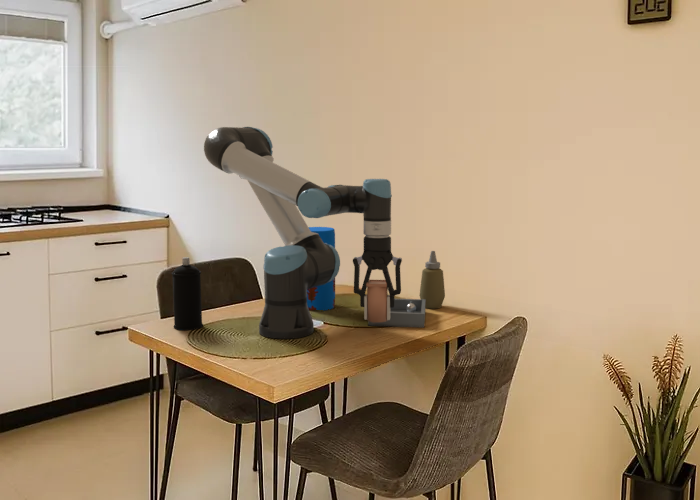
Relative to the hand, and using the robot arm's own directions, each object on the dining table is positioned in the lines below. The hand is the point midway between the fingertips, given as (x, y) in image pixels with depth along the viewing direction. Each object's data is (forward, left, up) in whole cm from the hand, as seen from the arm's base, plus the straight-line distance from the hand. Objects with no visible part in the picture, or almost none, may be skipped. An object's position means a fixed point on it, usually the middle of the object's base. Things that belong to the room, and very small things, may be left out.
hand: (377, 318), depth 200 cm
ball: (+9, +20, -2) cm, 22 cm away
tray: (+5, +15, -4) cm, 16 cm away
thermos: (-21, +27, -4) cm, 35 cm away
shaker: (0, 0, 0) cm, 0 cm away
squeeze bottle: (+15, +31, -4) cm, 35 cm away
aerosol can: (-54, -1, -4) cm, 54 cm away
